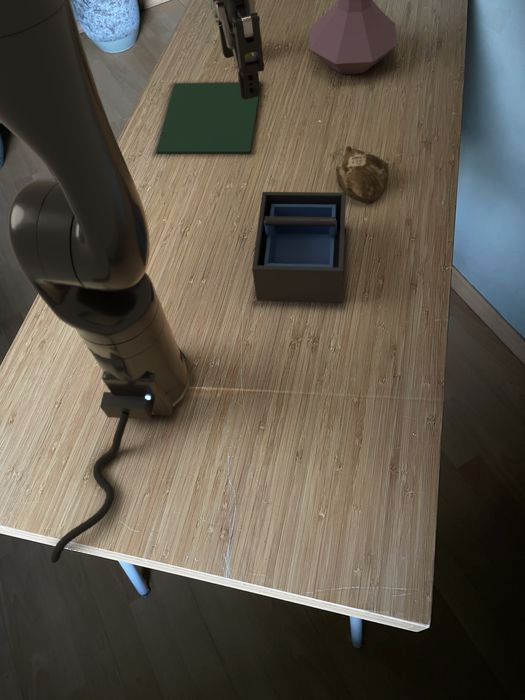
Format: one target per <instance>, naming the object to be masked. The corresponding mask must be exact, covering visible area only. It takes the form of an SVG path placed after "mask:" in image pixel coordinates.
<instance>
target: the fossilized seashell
mask: <svg viewBox="0 0 525 700" xmlns="http://www.w3.org/2000/svg"><path fill="white" fill-rule="evenodd" d="M389 173H390V172H389V163H388V162H386V161H385V160H383V159H382V158H380V157H379V156H376V155H374V154H372V153H371V152H370V151H363V150H361V149H358V148H352V146H350V145H348V146H346V147H345V150H344V154H343V156H342V159H341V160H340V162H339V163H338V164H337V166H336V168H335V175H336V180H337V183H338V186H339V188H340V190H342V192H343V193H346V196H348V197H350V198H352V199H355V200H358V201H360V202H362V203H374V202H375V201H376V200H378V199H379V198H380V197H381V196H382V194H383V192H384V190H385V188H386V184H387V181H388V178H389V175H390V174H389Z"/></svg>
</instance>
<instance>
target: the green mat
mask: <svg viewBox="0 0 525 700" xmlns="http://www.w3.org/2000/svg"><path fill="white" fill-rule="evenodd" d="M259 85H260V89H261V87H262V82H261V81H259ZM259 100H260V95H259V96H257V97H254V98H250V99H246V100H245V99H243V98H242V96H241V94H240V87H239V81H238V82H180V83H179V82H178V83H177V82H175V83H173V86H172V91H171V95H170V97H169V101H168V106H167V109H166V110H167V111H166V113H165V116H164V121H163V124H162V128H161V131H160V135H159V139H158V143H157V147H156V151H155V153H156V154H158V155H161V154H162V155H167V154H168V155H171V154H172V155H173V154H174V155H176V154H177V155H179V154H180V155H185V154H186V155H187V154H188V155H192V154H193V155H196V154H197V155H199V154H201V155H208V154H209V155H219V154H220V155H221V154H222V155H248V154H249V155H250V154H252V148H253V140H254V139H253V138H254V133H255V127H256V120H257V114H258V107H259Z"/></svg>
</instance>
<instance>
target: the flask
mask: <svg viewBox="0 0 525 700" xmlns="http://www.w3.org/2000/svg"><path fill="white" fill-rule="evenodd" d="M397 46H398V37H397V28H396V23H395V22H394V21H393V20H392V19H391V18H390V17H389V16H388V15H387V14H386V13H384V11H383V10H381V8H379V6H378V5H377V3H375V1H374V0H336V1H335V2H334V3H333V5H332V6H331V7H330V8H329V9H328V10H327V11H326V13H324V14H323V15H322V16H321V17H320V18H319V19H317V21H316V22H314V24H312V26H311V27H309V47H308V48H309V49H308V50H309V51H310V52H312V54H313V55H315V57H317V58H318V59H319V60H320V61H322V62H323V63H324V64H325V65H326V66H327V67H329V68H331V69H332V70H334V71H336V72H337V73H339V74H341V75H353V74H354V75H355V74H363V73H365V72H366V71H368V70H369V69H371V68H372V67H373V66H375V65H376V64H378V63H379V62H380V61H381V60H382V59H383V58H384V57H385V56H387V55H388V54H389V53H390V52H391V51H393V50H394V48H396V47H397Z"/></svg>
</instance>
